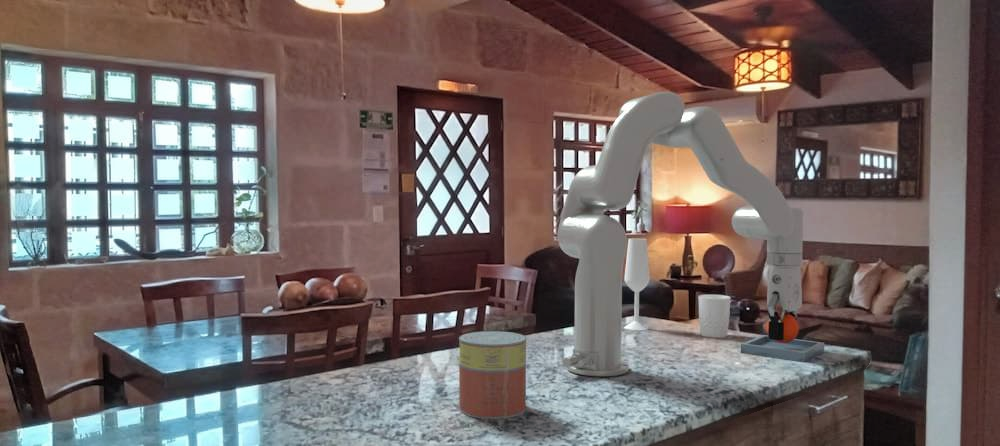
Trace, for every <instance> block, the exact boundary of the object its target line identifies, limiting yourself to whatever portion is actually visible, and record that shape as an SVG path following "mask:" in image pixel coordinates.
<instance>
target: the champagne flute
mask: <svg viewBox="0 0 1000 446" xmlns="http://www.w3.org/2000/svg"><path fill="white" fill-rule="evenodd" d="M647 241H648V239H647V238H638V237H637V238H636V237H635V238H633V237H632V238H631V237H630V238H628V239H627V248H626V259H625V261H626V262H625V268H624V269H625V270H624V278H623V279H624V282H625V284H626V286H627V287H628V288H629V289H630V290H631V291H632V292H634V310H633V311H634V315H633V316H634V317H633V318H634V319H633V321H632V322H630V323H628V324H627V325H625V326H624V327H623V329H625V330H631V331H646V330H649V329H650V327H648V326H647V325H645V324H644V323H642V322H641V321H640V319H639V318H640V315H639V314H640V292H641V291H643V290H644V289H645V288H646V287H647V286H648V284H649V283H650V280H651V278H650V277H651V276H650V265H649V253H648V242H647Z"/></svg>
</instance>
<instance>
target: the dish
mask: <svg viewBox="0 0 1000 446" xmlns="http://www.w3.org/2000/svg"><path fill="white" fill-rule="evenodd" d="M824 352H825V342H820V341H814V340H813V341H812V340H807V339H806V340H805V339H797V338H795V339H794V340H792V341H791V342H788V343H779V342H777V341H774V340H772V339H769V338H768V334H767V335H766V334H762V335H760V336H757V337H755V338H752V339H749V340H748V341H745V342H742V343H740V353H741V354H746V353H748V354H747V355H753V354H755V355H754V356H760V355H761V357H767V358H773V359H781V360H786V361H787V360H788V361H795V362H800V363H806V362H808V361H810V360H811V359H813V358H815V357H816V356H818V355H821V354H822V353H824Z"/></svg>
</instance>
